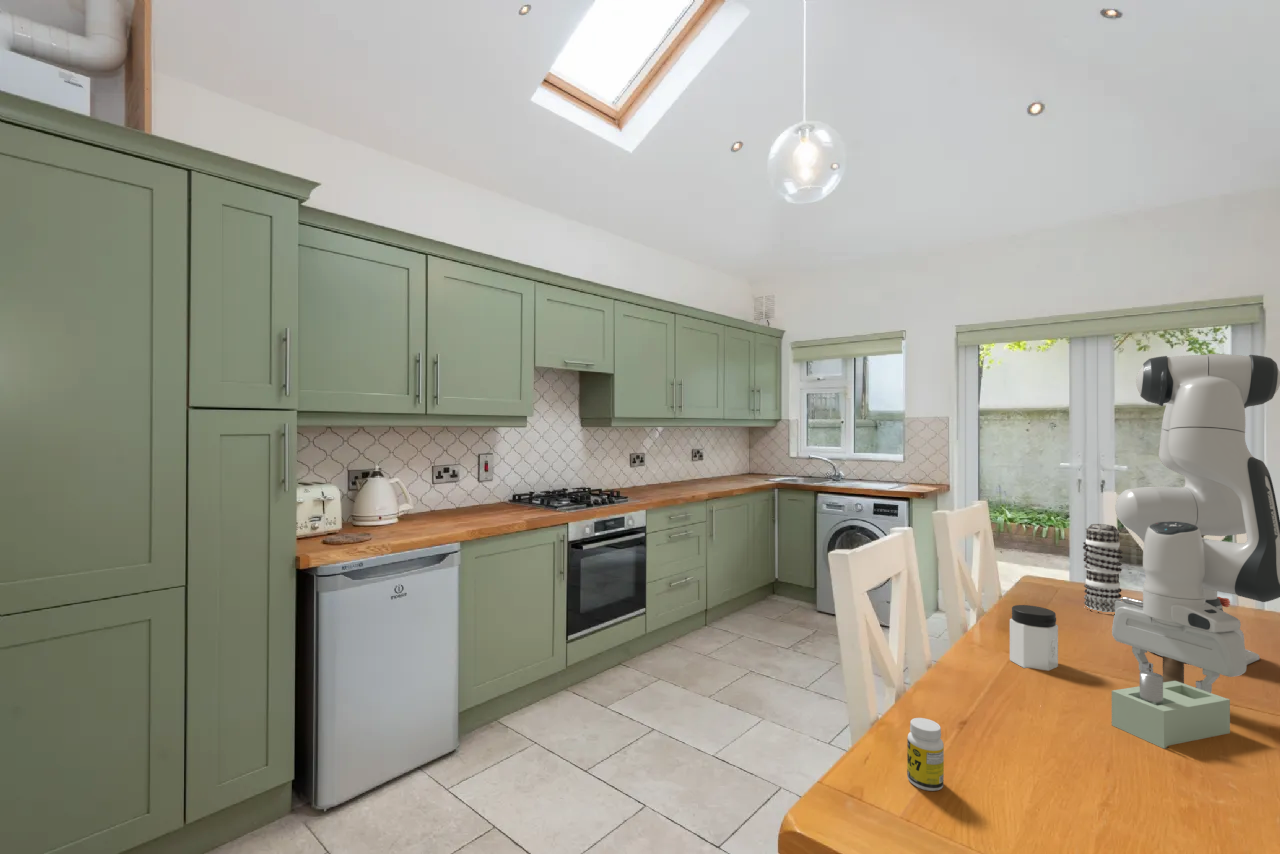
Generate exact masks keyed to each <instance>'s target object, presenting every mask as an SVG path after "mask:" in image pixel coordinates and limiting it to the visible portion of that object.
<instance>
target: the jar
mask: <svg viewBox="0 0 1280 854" xmlns="http://www.w3.org/2000/svg"><path fill="white" fill-rule="evenodd" d="M1056 623H1057V617H1056V612H1054V611H1053V610H1051V609H1048V608H1044V607H1042V606H1035V605H1029V604H1027V605H1026V604H1016V605H1013V606H1012V607H1011V618H1010V619H1009V661H1010V662H1013V663H1014V664H1015V665H1018V666H1020V667H1021V668H1023V669H1036V670H1041V671H1046V672H1047V671H1048V672H1049V671H1051V670H1053V669H1055V668H1057V667H1059V625H1058V624H1056Z"/></svg>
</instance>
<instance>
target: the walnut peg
mask: <svg viewBox="0 0 1280 854" xmlns="http://www.w3.org/2000/svg"><path fill="white" fill-rule="evenodd" d="M1162 676H1163V682H1170V681H1178V682H1181V683H1183V684H1185V663H1183V662H1180V661H1177V660H1174V659H1171V658H1168V657H1165V656H1162Z"/></svg>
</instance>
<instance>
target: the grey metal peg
mask: <svg viewBox="0 0 1280 854" xmlns="http://www.w3.org/2000/svg"><path fill="white" fill-rule="evenodd" d="M1139 686H1140V699H1141V700H1144V701H1147V702H1149V703H1152V704H1154V705H1157V706H1158V705H1163V674H1159V673H1156V672H1154V671H1153V672H1149V671H1140V670H1139Z"/></svg>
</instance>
